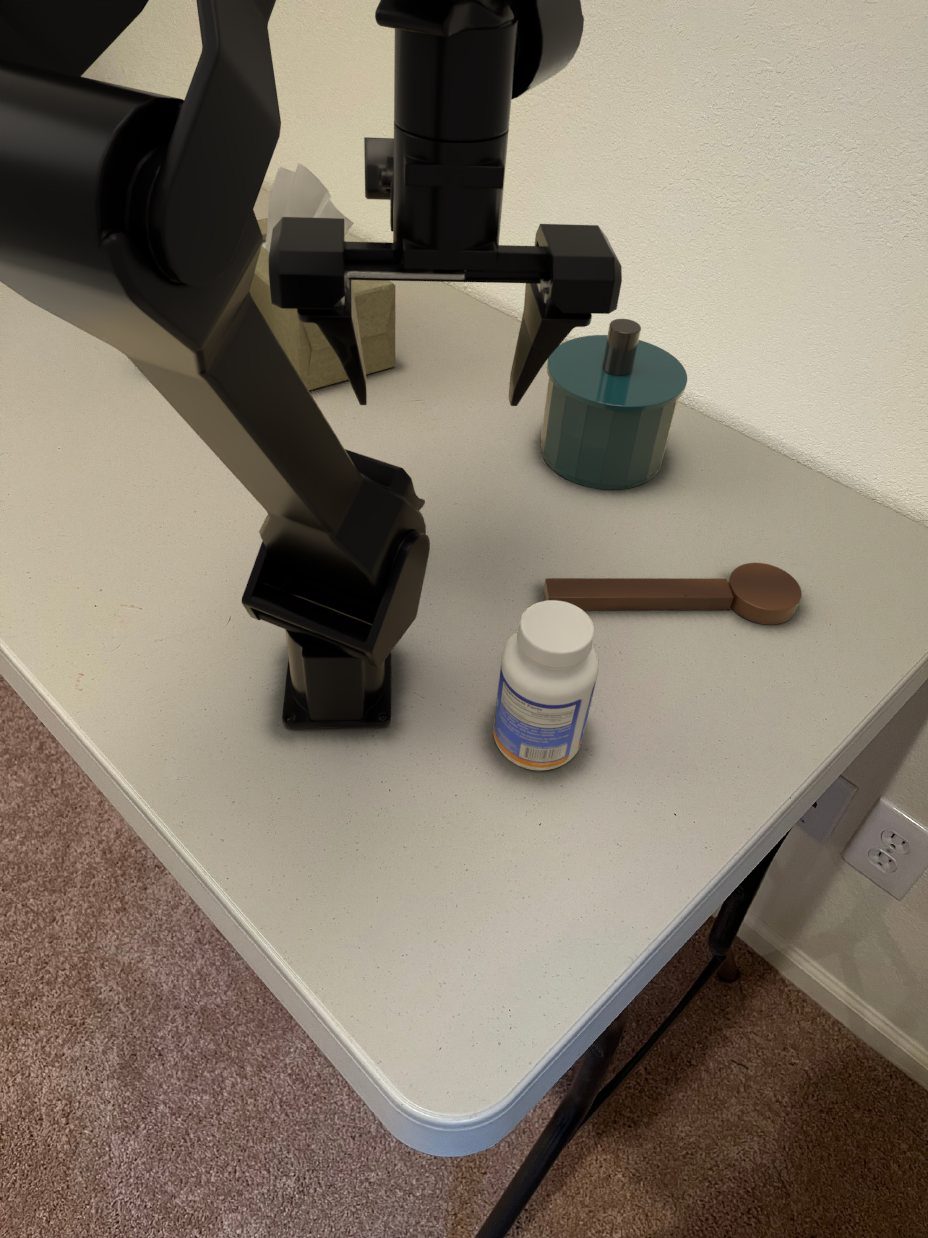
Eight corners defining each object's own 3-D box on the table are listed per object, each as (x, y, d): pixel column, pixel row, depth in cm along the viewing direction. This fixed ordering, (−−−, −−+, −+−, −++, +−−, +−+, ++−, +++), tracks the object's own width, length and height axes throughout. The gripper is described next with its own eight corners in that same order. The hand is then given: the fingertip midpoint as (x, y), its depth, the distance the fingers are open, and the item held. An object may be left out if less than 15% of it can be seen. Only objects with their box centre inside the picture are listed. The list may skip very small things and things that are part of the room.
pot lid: (699, 420, 69) (714, 363, 66) (555, 418, 68) (563, 360, 65) (667, 348, 77) (679, 294, 73) (538, 345, 76) (544, 290, 72)
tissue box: (397, 368, 85) (399, 192, 74) (303, 395, 81) (289, 213, 70) (305, 288, 96) (294, 124, 85) (218, 307, 92) (194, 137, 81)
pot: (673, 490, 74) (694, 410, 69) (548, 489, 73) (560, 408, 68) (647, 421, 81) (665, 343, 76) (534, 419, 80) (544, 341, 75)
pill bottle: (527, 689, 58) (545, 575, 51) (598, 734, 56) (627, 621, 49) (473, 740, 55) (484, 626, 48) (546, 790, 52) (569, 678, 46)
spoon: (805, 624, 63) (811, 610, 62) (549, 625, 62) (552, 610, 61) (783, 576, 67) (788, 562, 66) (540, 576, 66) (543, 561, 65)
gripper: (603, 86, 52) (565, 341, 63) (269, 72, 50) (290, 337, 61) (649, 151, 44) (597, 430, 55) (255, 137, 42) (281, 429, 53)
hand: (438, 402), depth 56 cm, fingers open, 9 cm apart
